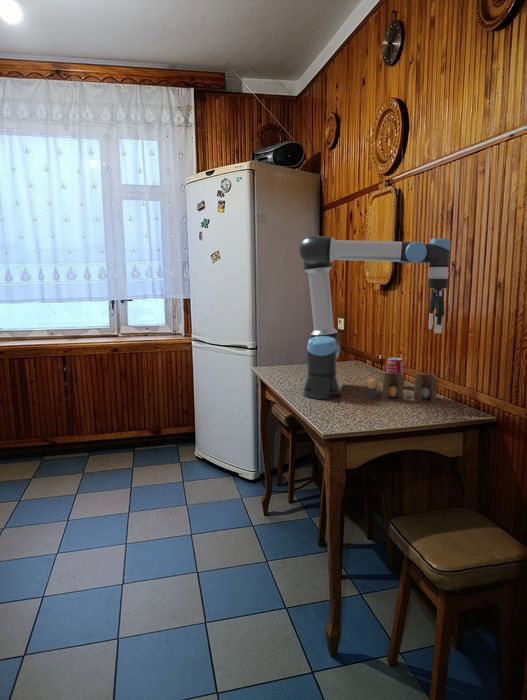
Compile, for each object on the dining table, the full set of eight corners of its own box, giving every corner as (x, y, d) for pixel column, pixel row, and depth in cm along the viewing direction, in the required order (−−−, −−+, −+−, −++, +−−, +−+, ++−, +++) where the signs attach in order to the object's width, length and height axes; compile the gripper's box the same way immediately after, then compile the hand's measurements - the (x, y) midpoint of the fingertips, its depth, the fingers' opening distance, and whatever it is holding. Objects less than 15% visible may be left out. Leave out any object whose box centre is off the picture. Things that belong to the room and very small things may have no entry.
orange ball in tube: (387, 398, 181) (387, 387, 180) (386, 395, 185) (386, 385, 185) (399, 399, 180) (399, 388, 180) (398, 396, 185) (398, 385, 184)
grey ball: (419, 400, 179) (420, 388, 178) (418, 397, 183) (418, 386, 182) (431, 400, 178) (432, 389, 177) (429, 397, 182) (430, 386, 182)
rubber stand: (367, 400, 183) (368, 389, 183) (367, 398, 186) (367, 387, 186) (375, 400, 183) (376, 389, 182) (375, 398, 186) (375, 387, 185)
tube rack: (382, 402, 180) (383, 376, 179) (381, 397, 187) (382, 372, 186) (437, 404, 177) (438, 378, 175) (434, 399, 184) (435, 374, 182)
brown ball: (366, 390, 182) (366, 379, 182) (366, 387, 186) (366, 376, 186) (377, 390, 181) (378, 379, 181) (377, 388, 186) (377, 377, 185)
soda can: (403, 390, 198) (404, 360, 196) (385, 389, 199) (386, 359, 197) (401, 386, 205) (402, 357, 203) (384, 385, 206) (385, 356, 204)
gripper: (455, 278, 174) (451, 335, 177) (442, 277, 198) (438, 327, 202) (433, 278, 175) (430, 334, 179) (423, 277, 199) (420, 327, 203)
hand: (434, 331), depth 190 cm, fingers open, 13 cm apart
